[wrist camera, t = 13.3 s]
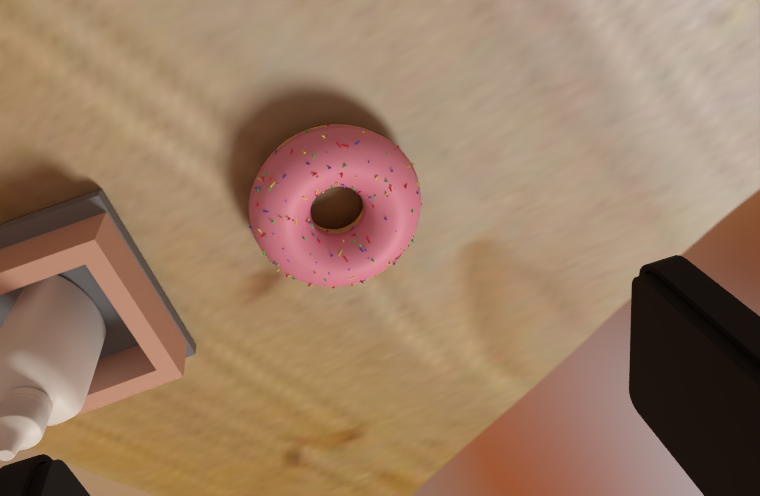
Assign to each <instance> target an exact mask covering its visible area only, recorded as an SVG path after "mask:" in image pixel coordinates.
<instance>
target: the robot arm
mask: <svg viewBox="0 0 760 496" xmlns="http://www.w3.org/2000/svg"><path fill="white" fill-rule="evenodd" d="M630 338H631V339H630V374H629V393H630V398H631V401H632V403H633V405H634V407H635V409H636V410H637V412H638V413H639V414H640V415H641V417H642V418H643V419H644V421H645V422H646V423H647V424H648V426H649V427H650V428H651V429H652V431H653V432H654V433H655V434H656V436H657V437H658V438H659V439H660V441H661V442H662V443H663V445H664V446H665V447H666V448H667V449H668V451H669V452H670V453H671V455H672V456H673V457H674V458H675V460H676V461H677V462H678V463H679V464H680V466H681V467H682V468H683V469H684V471H685V472H686V473H687V474H688V476H689V477H690V478H691V480H692V481H693V482H694V483H695V485H696V486H697V487H698V488H699V489H700V491H701V492H702V493H703V495H704V496H760V316H758V315H757V314H756V313H755V312H753V311H752V310H751V309H749V308H748V307H747V306H745V305H744V304H743V303H742V302H740V301H739V300H738V299H737V298H735V297H734V296H733V295H732V294H730V293H729V292H728V291H726V290H725V289H724V288H723V287H721V286H720V285H719V284H718V283H716V282H715V281H714V280H712V279H711V278H710V277H708V276H707V275H706V274H705V273H703V272H702V271H701V270H700V269H698V268H697V267H696V266H695V265H693V264H692V263H691V262H689V261H688V260H687V259H685V258H684V257H682V256H678V255H675V256H672V257H669V258H666V259H662V260H659V261H656V262H653V263H650V264H646V265H644V266H642V268H641V269H640V273H639V276H638V277H635V278H634V279H633V281H632V300H631V337H630ZM0 496H90V495H89V494H88V492H87V491H86V490H85V488H84V487H83V486H82V484H81V483H80V482H79V481H78V479H77V478H76V477H75V476H74V474H73V473H72V472H71V470H70V469H69V468H68V466H67V465H66V464H65V463H64V462H63V461H62V460H59V459H58V460H54V461H53V460H52V459H51V458H50V457H49V456H47V455H45V454H42V455H38V456H34V457H31V458H28V459H25V460H22V461H18V462H15V463H12V464H9V465H6V466H3V467H2V468H0Z"/></svg>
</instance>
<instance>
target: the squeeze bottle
mask: <svg viewBox="0 0 760 496" xmlns="http://www.w3.org/2000/svg"><path fill="white" fill-rule="evenodd" d="M105 336H106V327H105V323H104V320H103V317H102V315H101V313H100V311H99V309H98V308H97V306H96V305H95V303H94V302H93V301H92V299H91V298H90V297H89V296H88V295H87V294H86V293H85V292H84V291H82V290H81V289H80V288H79V287H77V286H76V285H75V284H73V283H72V282H70V281H68V280H67V279H65V278H63V277H61V276H59V275H54V276H51V277H48V278H46V279H43V280H40V281H37V282H34V283H32V284H29V285H26V286H25V287H24V288H23V290H22V292H21V293H20V295H19V297H18V299H17V300H16V302H15V304H14V306H13V307H12V309H11V311H10V313H9V315H8V316H7V318H6V320H5V322H4V323H3V325H2V327H1V329H0V460H2V461H9V460H11V459H13V457H14V456H15V455H16V453H17V452H18V450H24V449H28V448H31V447H33V446H35V445H36V444H37V443H39V441H40V440H41V439H42V437H43V434H44V431H45V429H46V426H47V425H48V426H51V425H56V424H59V423H62V422H64V421H66V420H68V419H70V418H72V417H74V416H75V415H77V414H78V413H79V412H80V411H81V409H82V407H83V405H84V402H85V399H86V397H87V394H88V391H89V387H90V384H91V381H92V378H93V375H94V372H95V369H96V365H97V362H98V359H99V356H100V353H101V349H102V346H103V343H104V340H105Z"/></svg>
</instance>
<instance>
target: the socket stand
mask: <svg viewBox="0 0 760 496" xmlns="http://www.w3.org/2000/svg"><path fill="white" fill-rule="evenodd" d="M54 275H59V276H61V277H63V278H65V279H67V280H68V281H70V282H72V283H73V284H75V285H76V286H77V287H79V288H80V289H81V290H82V291H84V292H85V293H86V294H87V295H88V296H89V297H90V298H91V299H92V301H93V302H94V303H95V305H96V306H97V308H98V309H99V311H100V313H101V315H102V317H103V320H104V323H105V327H106V336H105V340H104V343H103V346H102V349H101V353H100V356H99V359H98V362H97V365H96V369H95V372H94V375H93V378H92V381H91V384H90V387H89V391H88V394H87V397H86V399H85V402H84V405H83V407H82V409H81V411H80V412H79V413H78V414H77V415H80V414H83V413H86V412H88V411H91V410H94V409H97V408H99V407H102V406H105V405H108V404H110V403H113V402H116V401H118V400H121V399H124V398H127V397H129V396H132V395H135V394H138V393H140V392H143V391H146V390H149V389H151V388H154V387H157V386H160V385H162V384H165V383H168V382H171V381H173V380H176V379H179V378H182V377H183V374H184V365H185V357H188V356H191V355H194V354H195V353H196V344H195V342H194V340H193V339H192V337H191V335H190V334H189V332H188V331H187V329H186V327H185V326H184V324H183V322H182V321H181V319H180V317H179V316H178V314H177V312H176V311H175V309H174V307H173V306H172V304H171V302H170V301H169V299H168V297H167V296H166V294H165V292H164V291H163V289H162V287H161V286H160V284H159V282H158V281H157V279H156V277H155V276H154V274H153V272H152V271H151V269H150V268H149V266H148V264H147V263H146V261H145V259H144V258H143V256H142V254H141V253H140V251H139V249H138V248H137V246H136V244H135V243H134V241H133V239H132V238H131V236H130V234H129V233H128V231H127V229H126V228H125V226H124V224H123V223H122V221H121V219H120V218H119V216H118V214H117V213H116V211H115V209H114V208H113V206H112V205H111V203H110V201H109V200H108V198H107V196H106V195H105V193H104V191H103V190H102V189H99V190H96V191H93V192H91V193H88V194H85V195H82V196H79V197H76V198H74V199H71V200H68V201H65V202H62V203H59V204H56V205H54V206H51V207H48V208H45V209H42V210H39V211H37V212H34V213H31V214H28V215H25V216H22V217H20V218H17V219H14V220H11V221H8V222H5V223H2V224H0V329H1V327H2V325H3V323H4V322H5V320H6V318H7V316H8V315H9V313H10V311H11V309H12V307H13V306H14V304H15V302H16V300H17V299H18V297H19V295H20V293H21V292H22V290H23V288H24V287H25V286H26V285H29V284H32V283H34V282H37V281H40V280H43V279H46V278H48V277H51V276H54ZM77 415H75V416H77ZM75 416H74V417H75ZM47 426H48V425H47ZM47 426H46V427H47Z"/></svg>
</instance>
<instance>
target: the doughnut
mask: <svg viewBox="0 0 760 496" xmlns="http://www.w3.org/2000/svg"><path fill="white" fill-rule="evenodd" d="M412 165H414V164H413V163H411V162H410V161H409V159H408V158H407V157H406V155H405V154H404V153H403V152H402V151H401V150H400V149H399V146H396V145H395V144H394V143H393V142H391V141H390V140H389V139H387V138H385V137H383V136H381V135H379V134H377V133H375V132H372V131H370V130H367V129H365V128H361V127H357V126H352V125H344V124H331V125H323V126H318V127H314V128H310V129H306V130H305V131H302V132H300V133H298V134H296V135H294V136H292V137H291V138H289V139H288V140H286V141H285V142H283V143H282V144H281V145H280V146H279V147H277V148H276V149H275V150H274V151H273V152H272V154H271V155H270V156H269V157H268V158H267V160H266V161H265V162H264V164H263V165H262V167H261V169H260V170H259V172H258V174H257V176H256V178H255V180H254V183H253V185H252V188H251V191H250V197H249V221H250V228H251V230H252V233H253V235H254V237H255V239H256V241H257V243H258V245H259V247H260V248H261V250H262V252H264V253H263V255H266V256H267V257H268V258H269V259H270V262H272V263H273V264H275V265H276V266H277V267H278V268H279V269H278V270H277V272H278V271H279V270H282V271H283V272H284V273H286V277H288V275H289V277H290V276H291V277H293V280H294V279H297V280H300V281H303V282H306V283H310V284H309V285H308V286H310V285H311V284H314V285H319V286H330V287H331V286H333V287H332V288H333V289H334V287H335V286H345V285H348V286H349V285H350V284H351V285H353V284H355V283H358V282H361V283H364V282H363V281H364V280H366V279H368V278H371V277H373V276H376V277H377V274H379V273H380V272H382V271H383V270H385V269H386V268H388V267H389V266H390V265H391V264H392V263H393V265H395V262H396V260H397V259H398V258H399V257H400V256H401V254H402V253H403V251H405V249H406V248H407V246H408V247H409V248H410V246H409V243H410V241H412V242H413V239H412V237H414V233H415V230H416V227H417V223H418V218H419V214H420V208H421V204H422V203H421V195H420V189H419V183H418V179H417V175H416V172H415V170H414V168H413V166H412ZM339 186H341V187H344V188H345V187H348V188H351V189H352V190H354V192H355V194H356V193H357V194H359V196H360V197H361V199H362V202H363V209H362V211H361V213H360V215H359V217H358V218H357V219H356V220H355V221H354V222H353V223H351V224H350V225H348V226H346V227H343V228H340V229H326V228H322V227H320V226H318V225H317V224H315V223H314V221H313V219H312V216H311V206H312V204H313V202H314V201H315V199H316V198H317V196H318V195H319V194H320V193H323V194H324V191H325V190H327V189H329V190H330V189H331V188H333V187H339Z"/></svg>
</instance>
